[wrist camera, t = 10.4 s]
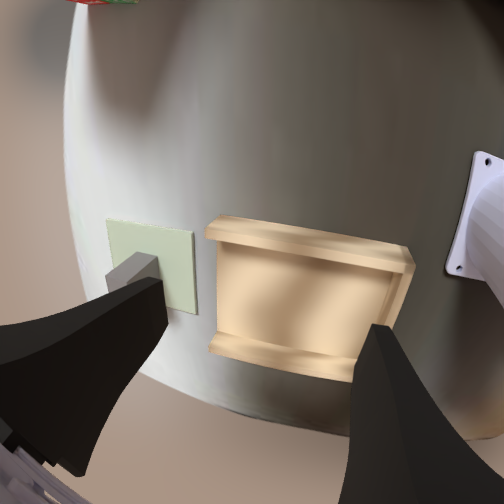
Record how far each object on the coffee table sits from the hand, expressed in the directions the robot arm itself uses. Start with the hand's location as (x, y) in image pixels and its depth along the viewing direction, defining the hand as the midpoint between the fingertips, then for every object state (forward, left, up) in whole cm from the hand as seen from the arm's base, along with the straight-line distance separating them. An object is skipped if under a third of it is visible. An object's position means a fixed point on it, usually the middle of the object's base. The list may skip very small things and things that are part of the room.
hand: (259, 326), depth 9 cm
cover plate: (+11, +5, -10) cm, 16 cm away
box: (-1, +5, -9) cm, 11 cm away
